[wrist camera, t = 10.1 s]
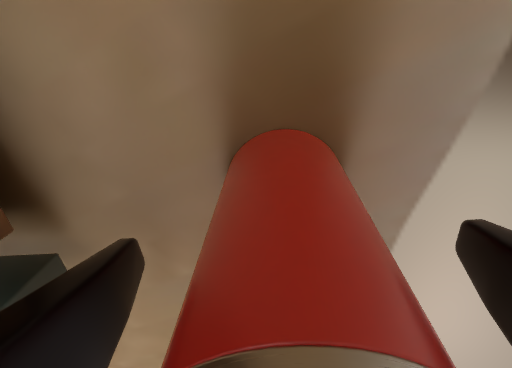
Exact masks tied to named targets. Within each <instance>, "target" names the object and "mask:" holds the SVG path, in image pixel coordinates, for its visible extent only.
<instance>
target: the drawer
mask: <svg viewBox="0 0 512 368" xmlns="http://www.w3.org/2000/svg"><path fill="white" fill-rule="evenodd" d="M13 230H14V229H13V227H12V226H11V224H10V222H9V221H8V219H7V217H6V216H5V214H4V212H3V211H2V209H1V207H0V240H1V239H3V238H4V237H6V236H7V235H8V234H10V233H11V232H12V231H13ZM66 271H67V270H66V268H65V266H64V264H63V262H62V260H61V259H60V257H59V255H58V254H56V253H55V254H35V255H15V256H0V311H2V310H3V309H5V308H7V307H8V306H10V305H12V304H13V303H15V302H17V301H18V300H20V299H22V298H23V297H25V296H27V295H28V294H30V293H32V292H33V291H35V290H37V289H38V288H40V287H42V286H43V285H45V284H47V283H48V282H50V281H51V280H53V279H55V278H56V277H58V276H60V275H61V274H63V273H65V272H66Z"/></svg>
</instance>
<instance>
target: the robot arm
mask: <svg viewBox="0 0 512 368" xmlns="http://www.w3.org/2000/svg"><path fill="white" fill-rule="evenodd" d="M456 252H457V255H458V257H459V259H460V261H461V262H462V264H463V266H464V268H465V270H466V272H467V274H468V275H469V277H470V279H471V281H472V283H473V285H474V286H475V288H476V290H477V292H478V294H479V296H480V298H481V299H482V301H483V303H484V305H485V306H486V308H487V310H488V311H489V313H490V314H491V316H492V317H493V319H494V320H495V322H496V323H497V325H498V326H499V328H500V329H501V331H502V332H503V334H504V335H505V337H506V338H507V340H508V341H509V343H510V344H511V346H512V230H509V229H507V228H504V227H501V226H498V225H496V224H493V223H491V222H488V221H486V220H482V219H478V220H477V219H476V220H465V221H464V222H463V223H462V224H461V227H460V231H459V234H458V238H457V241H456ZM144 266H145V261H144V257H143V255H142V252H141V249H140V246H139V244H138V241H137V240H136V239H134V238H125V239H120V240H118V241H116V242H115V243H113V244H111V245H110V246H108V247H106V248H105V249H103V250H101V251H100V252H98V253H96V254H95V255H93V256H91V257H90V258H88V259H86V260H85V261H83V262H81V263H80V264H78V265H76V266H75V267H73V268H71V269H70V270H68V271H66V272H65V273H63V274H61V275H60V276H58V277H56V278H55V279H53V280H51V281H50V282H48V283H47V284H45V285H43V286H42V287H40V288H38V289H37V290H35V291H33V292H32V293H30V294H28V295H27V296H25V297H23V298H22V299H20V300H18V301H17V302H15V303H13V304H12V305H10V306H8V307H7V308H5V309H3V310H2V311H0V368H108V366H109V363H110V361H111V359H112V356H113V354H114V352H115V349H116V347H117V344H118V342H119V340H120V337H121V335H122V333H123V330H124V328H125V325H126V323H127V320H128V318H129V315H130V312H131V309H132V306H133V303H134V299H135V296H136V293H137V290H138V286H139V283H140V280H141V277H142V273H143V270H144Z"/></svg>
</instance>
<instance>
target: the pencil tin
mask: <svg viewBox="0 0 512 368" xmlns="http://www.w3.org/2000/svg"><path fill="white" fill-rule="evenodd" d="M161 368H456V367H455V366H454V364H453V362H452V360H451V358H450V357H449V355H448V353H447V351H446V350H445V348H444V346H443V344H442V342H441V341H440V339H439V337H438V335H437V334H436V332H435V330H434V328H433V327H432V325H431V323H430V321H429V320H428V318H427V316H426V314H425V313H424V311H423V309H422V307H421V305H420V304H419V302H418V300H417V299H416V297H415V295H414V293H413V292H412V290H411V288H410V286H409V285H408V283H407V281H406V279H405V277H404V276H403V274H402V272H401V270H400V269H399V267H398V265H397V263H396V261H395V260H394V258H393V256H392V254H391V253H390V251H389V249H388V247H387V246H386V244H385V242H384V240H383V239H382V237H381V235H380V233H379V231H378V230H377V228H376V226H375V224H374V223H373V221H372V219H371V217H370V216H369V214H368V212H367V210H366V209H365V207H364V205H363V203H362V202H361V200H360V198H359V196H358V195H357V193H356V191H355V189H354V187H353V186H352V184H351V182H350V180H349V179H348V177H347V175H346V173H345V172H344V170H343V168H342V166H341V165H340V163H339V161H338V159H337V158H336V156H335V154H334V153H333V151H332V150H331V149H330V148H329V147H328V146H327V145H326V144H325V143H324V142H323V141H321V140H320V139H319V138H317V137H315V136H313V135H311V134H309V133H306V132H303V131H299V130H292V129H279V130H272V131H268V132H265V133H262V134H260V135H258V136H256V137H254V138H252V139H251V140H249V141H248V142H247V143H245V144H244V145H243V146H242V147H241V148H240V149H239V150H238V152H237V153H236V154H235V156H234V158H233V160H232V161H231V164H230V167H229V169H228V172H227V175H226V178H225V181H224V184H223V187H222V190H221V193H220V196H219V199H218V202H217V205H216V208H215V211H214V214H213V217H212V220H211V223H210V226H209V229H208V231H207V234H206V237H205V240H204V243H203V246H202V249H201V252H200V255H199V258H198V261H197V264H196V267H195V270H194V273H193V276H192V279H191V282H190V285H189V288H188V291H187V294H186V296H185V299H184V302H183V305H182V308H181V311H180V314H179V317H178V320H177V323H176V326H175V329H174V332H173V335H172V338H171V341H170V344H169V347H168V350H167V353H166V356H165V359H164V362H163V364H162V367H161Z"/></svg>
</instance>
